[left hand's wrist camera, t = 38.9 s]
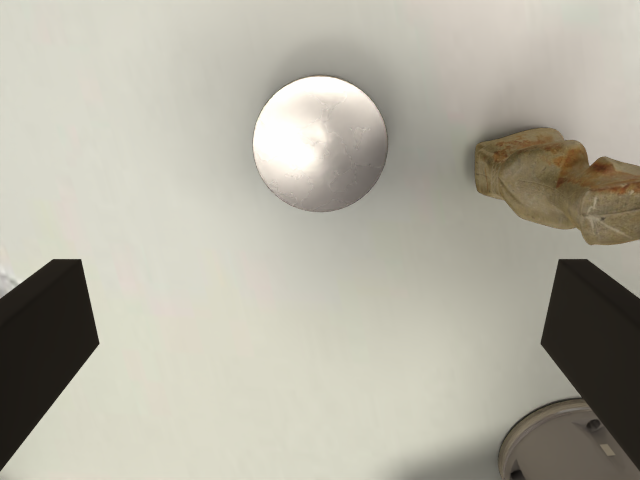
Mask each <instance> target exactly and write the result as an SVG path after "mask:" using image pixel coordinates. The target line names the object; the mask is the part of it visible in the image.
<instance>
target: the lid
mask: <svg viewBox="0 0 640 480" xmlns="http://www.w3.org/2000/svg"><path fill="white" fill-rule="evenodd" d="M387 149H388V139H387V131H386V127H385V123H384V120H383V118H382V116H381V114H380V111H379V110H378V108H377V107H376V105H375V104H374V102H373V101H372V100H371V99H370V98H369V96H367V95H366V94H365V93H364V92H363V91H362V90H361V89H359V88H358V87H356V86H355V85H353V84H352V83H350V82H348V81H346V80H343V79H340V78H337V77H333V76H327V75H314V76H307V77H303V78H300V79H297V80H295V81H292V82H291V83H289V84H287V85H286V86H284V87H283V88H281V89H280V90H279V91H278V92H276V93H275V94H274V95H273V96H272V97H271V98H270V99H269V100H268V102H267V103H266V104H265V106H264V107H263V109H262V111H261V112H260V114H259V117H258V119H257V122H256V125H255V129H254V134H253V154H254V160H255V163H256V167H257V169H258V171H259V174H260V176H261V178H262V179H263V181H264V183H265V184H266V185H267V186H268V188H269V189H270V190H271V191H272V192H273V193H274V194H275V195H276V196H277V197H279V198H280V199H281V200H283V201H284V202H286V203H288V204H289V205H291V206H294V207H296V208H299V209H302V210H306V211H312V212H328V211H334V210H339V209H341V208H344V207H347V206H349V205H351V204H353V203H355V202H356V201H358V200H359V199H361V198H362V197H363V196H364V195H365V194H367V193H368V192H369V190H370V189H371V188H372V187H373V186H374V184H375V183H376V181H377V180H378V178H379V176H380V175H381V173H382V170H383V168H384V165H385V161H386V157H387Z"/></svg>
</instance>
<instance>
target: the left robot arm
mask: <svg viewBox="0 0 640 480" xmlns="http://www.w3.org/2000/svg"><path fill="white" fill-rule="evenodd" d="M98 345H99V339H98V335H97V330H96V325H95V321H94V316H93V312H92V307H91V302H90V298H89V293H88V289H87V284H86V280H85V275H84V270H83V266H82V261H81V259H53V260H51V261H50V262H49V263H47V264H46V265H45V266H43V267H42V268H41V269H39V270H38V271H37V272H35V273H34V274H33V275H31V276H30V277H29V278H27V279H26V280H25V281H23V282H22V283H21V284H19V285H18V286H17V287H15V288H14V289H13V290H11V291H10V292H9V293H7V294H6V295H5V296H3V297H2V298H1V299H0V471H1V470H2V469H3V467H4V466H5V465H6V463H7V462H8V461H9V460H10V458H11V457H12V456H13V454H14V453H15V452H16V451H17V449H18V448H19V447H20V445H21V444H22V443H23V442H24V440H25V439H26V438H27V436H28V435H29V434H30V433H31V431H32V430H33V429H34V427H35V426H36V425H37V424H38V422H39V421H40V420H41V418H42V417H43V416H44V415H45V413H46V412H47V411H48V409H49V408H50V407H51V406H52V404H53V403H54V402H55V400H56V399H57V398H58V396H59V395H60V394H61V393H62V391H63V390H64V389H65V387H66V386H67V385H68V384H69V382H70V381H71V380H72V378H73V377H74V376H75V375H76V373H77V372H78V371H79V369H80V368H81V367H82V366H83V364H84V363H85V362H86V360H87V359H88V358H89V357H90V355H91V354H92V353H93V351H94V350H95V349H96V348H97V346H98ZM541 345H542V346H543V348H544V349H545V350H546V351H547V353H548V354H549V355H550V357H551V358H552V359H553V360H554V362H555V363H556V364H557V366H558V367H559V368H560V369H561V371H562V372H563V373H564V375H565V376H566V377H567V378H568V380H569V381H570V382H571V384H572V385H573V386H574V387H575V389H576V390H577V391H578V393H579V394H580V395H581V397H582V398H583V399H574V400H567V401H562V402H558V403H555V404H551V405H549V406H546V407H544V408H541V409H539V410H537V411H535V412H533V413H532V414H530V415H529V416H527V417H526V418H524V419H523V420H522V421H520V422H519V423H518V424H517V425H516V426H515V427H514V428H513V429H512V430H511V431H510V433H509V434H508V435H507V437H506V438H505V440H504V442H503V444H502V446H501V449H500V452H499V457H498V467H499V471H500V475H501V477H502V479H503V480H640V299H639V298H638V297H637V296H635V295H634V294H633V293H631V292H630V291H629V290H627V289H626V288H625V287H623V286H622V285H621V284H619V283H618V282H617V281H615V280H614V279H613V278H611V277H610V276H609V275H607V274H606V273H605V272H603V271H602V270H601V269H599V268H598V267H597V266H595V265H594V264H593V263H591V262H590V261H589V260H587V259H559V261H558V266H557V270H556V275H555V280H554V284H553V289H552V293H551V298H550V302H549V307H548V312H547V316H546V321H545V325H544V330H543V335H542V339H541Z"/></svg>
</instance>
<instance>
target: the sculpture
mask: <svg viewBox="0 0 640 480" xmlns="http://www.w3.org/2000/svg"><path fill="white" fill-rule="evenodd" d="M475 182H476V187H477V191H478V192H479V193H481V194H483V195H486V196H490V197H493V198H497V199H502V200H505V201H506V202H507V204H508V205H509V206H510V207H511V209H512V210H513V211H514V212H515V213H516V214H517V215H518V216H519V217H521V218H523V219H525V220H528V221H532V222H535V223H539V224H542V225H546V226H550V227H554V228H558V229H572V228H577V229H579V230H580V231H581V233H582V236H583V238H584V239H585V241H586V242H587V243H588V244H589V245H594V244H597V245H613V244H621V243H626V242H630V241H635V240H639V239H640V166H637V165H632V164H628V163H623V162H620V161H616V160H613V159H611V158H608V157H601V158H599V159H597V160H596V161H595V162H594V163H593V164H592V165H591V166H589V163H588V156H587V153H586V150H585V148H584V146H583V145H582V144H581V143H580V142H578V141H575V140H565V141H564V138H563V136H562V135H561V134H560V133H559V132H558V131H557V130H555V129H552V128H536V129H530V130H526V131H522V132H518V133H515V134H512V135H509V136H506V137H503V138H500V139H496V140H491V141H484V142H481V143H479V144H477V145H476V149H475Z"/></svg>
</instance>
